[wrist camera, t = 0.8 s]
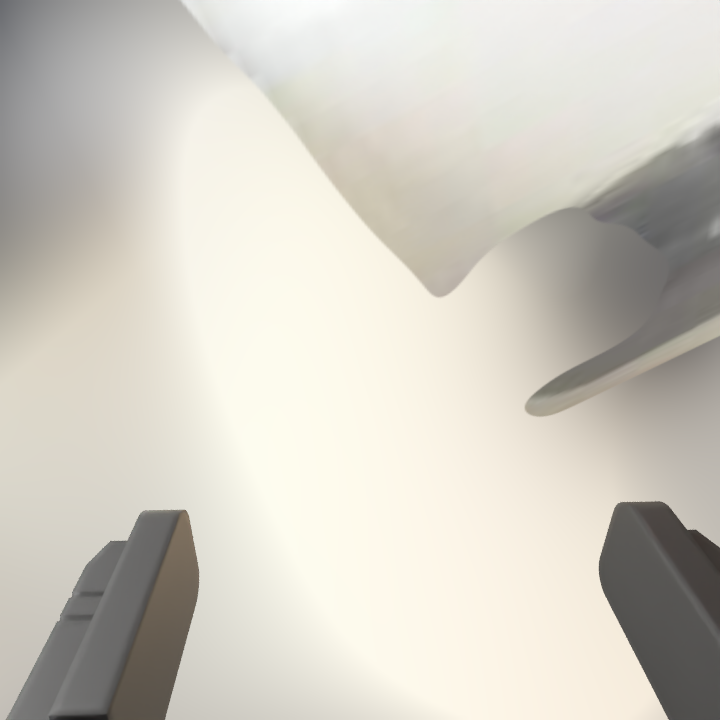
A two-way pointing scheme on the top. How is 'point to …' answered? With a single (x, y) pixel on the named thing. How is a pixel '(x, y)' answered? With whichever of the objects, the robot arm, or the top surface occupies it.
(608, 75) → the top surface
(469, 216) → the top surface
